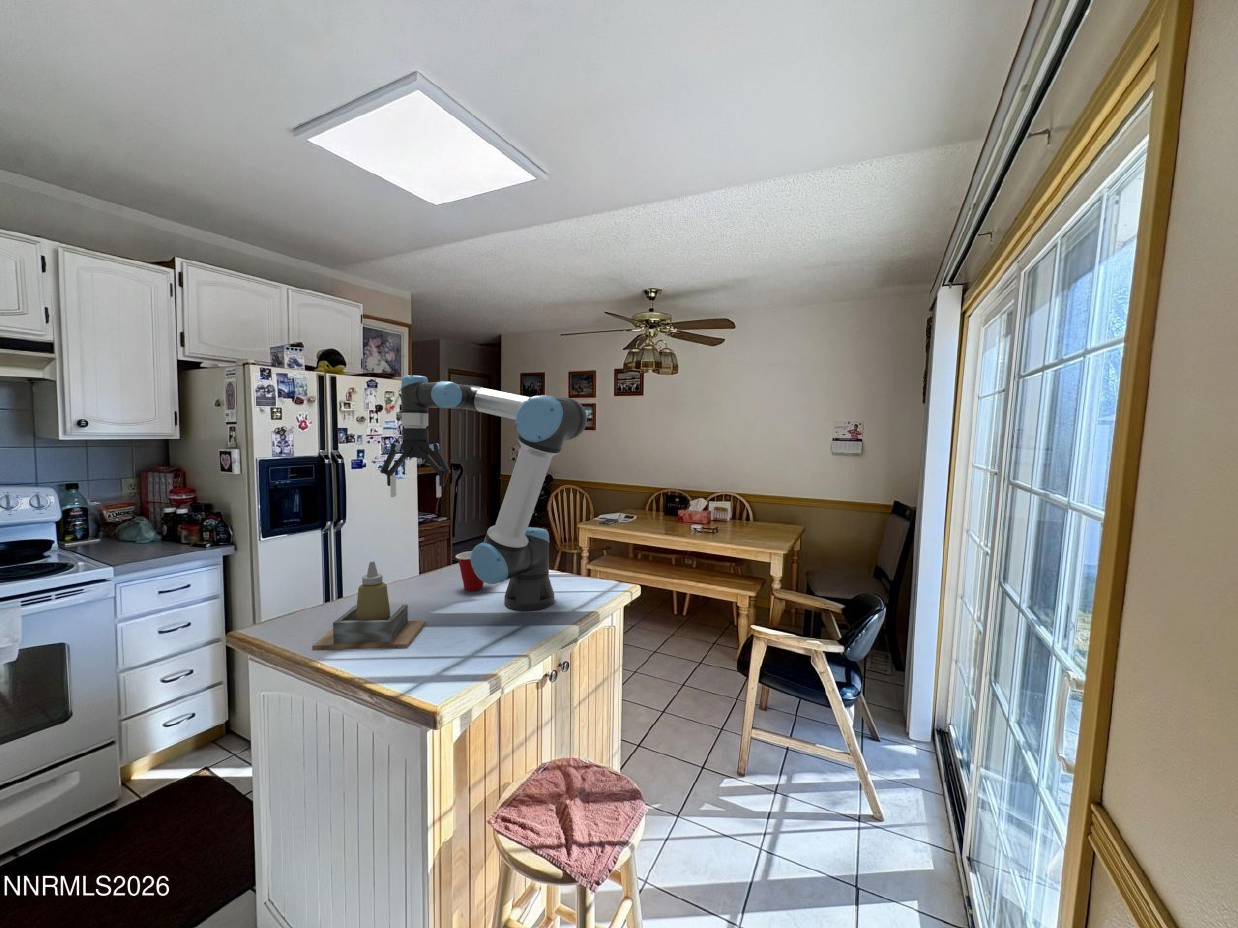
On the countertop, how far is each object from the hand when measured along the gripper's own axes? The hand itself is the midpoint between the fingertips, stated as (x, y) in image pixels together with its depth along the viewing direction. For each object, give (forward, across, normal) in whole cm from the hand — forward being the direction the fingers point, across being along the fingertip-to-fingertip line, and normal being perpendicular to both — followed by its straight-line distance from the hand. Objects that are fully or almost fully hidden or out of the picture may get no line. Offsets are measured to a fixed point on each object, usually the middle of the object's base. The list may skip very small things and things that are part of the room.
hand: (416, 496), depth 156 cm
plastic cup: (+32, -15, -9) cm, 36 cm away
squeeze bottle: (+31, +2, +28) cm, 42 cm away
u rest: (+32, +2, +29) cm, 43 cm away
